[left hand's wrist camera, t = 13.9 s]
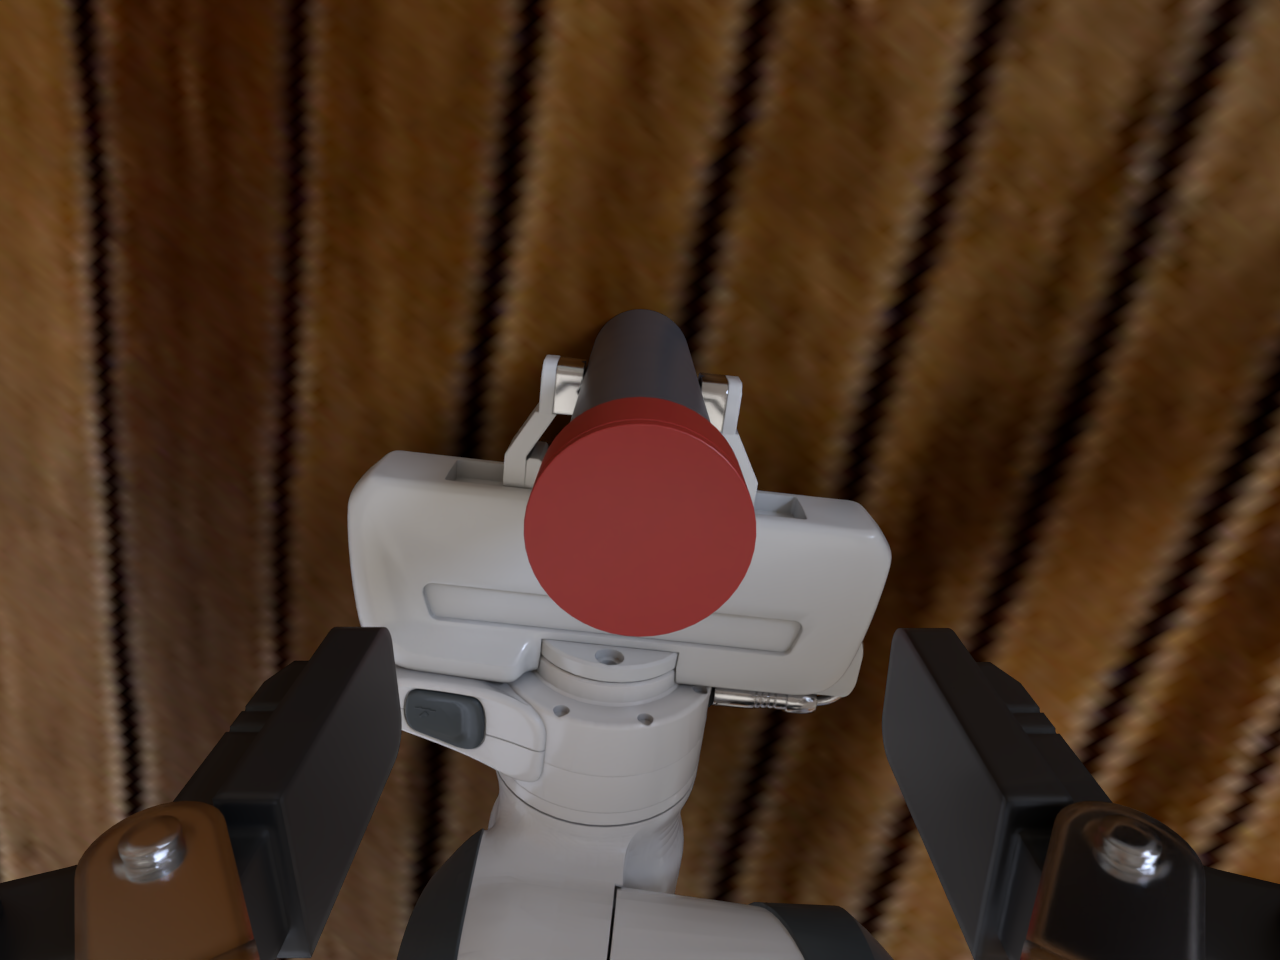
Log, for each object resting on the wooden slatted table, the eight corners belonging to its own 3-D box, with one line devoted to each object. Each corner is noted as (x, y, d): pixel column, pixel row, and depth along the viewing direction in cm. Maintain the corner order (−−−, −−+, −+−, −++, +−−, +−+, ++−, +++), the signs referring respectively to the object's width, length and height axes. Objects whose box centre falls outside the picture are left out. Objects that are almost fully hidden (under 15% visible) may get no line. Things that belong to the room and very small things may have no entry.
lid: (586, 615, 20) (580, 666, 18) (502, 442, 18) (483, 475, 16) (771, 548, 19) (787, 593, 17) (700, 363, 18) (708, 387, 16)
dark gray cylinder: (614, 419, 36) (589, 638, 18) (576, 331, 34) (510, 477, 17) (703, 384, 35) (763, 575, 18) (668, 293, 34) (696, 404, 16)
